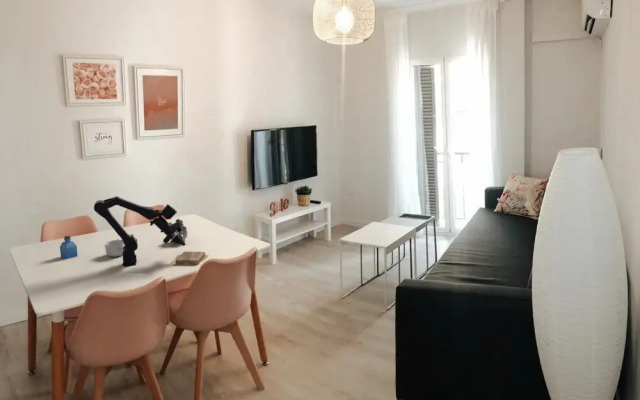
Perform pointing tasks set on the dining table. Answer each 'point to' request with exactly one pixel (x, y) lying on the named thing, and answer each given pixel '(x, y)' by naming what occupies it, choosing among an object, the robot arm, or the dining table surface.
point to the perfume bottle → (68, 248)
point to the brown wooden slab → (190, 258)
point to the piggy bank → (183, 233)
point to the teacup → (114, 248)
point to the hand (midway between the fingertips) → (184, 245)
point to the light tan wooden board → (187, 264)
